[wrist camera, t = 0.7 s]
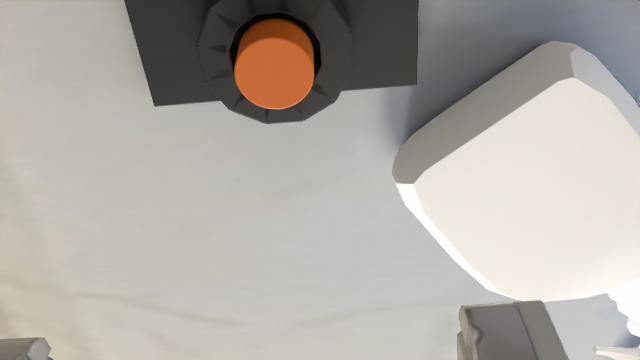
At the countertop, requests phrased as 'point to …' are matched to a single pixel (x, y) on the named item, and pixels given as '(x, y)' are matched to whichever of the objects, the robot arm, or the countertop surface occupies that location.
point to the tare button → (274, 64)
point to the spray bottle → (536, 183)
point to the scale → (265, 3)
